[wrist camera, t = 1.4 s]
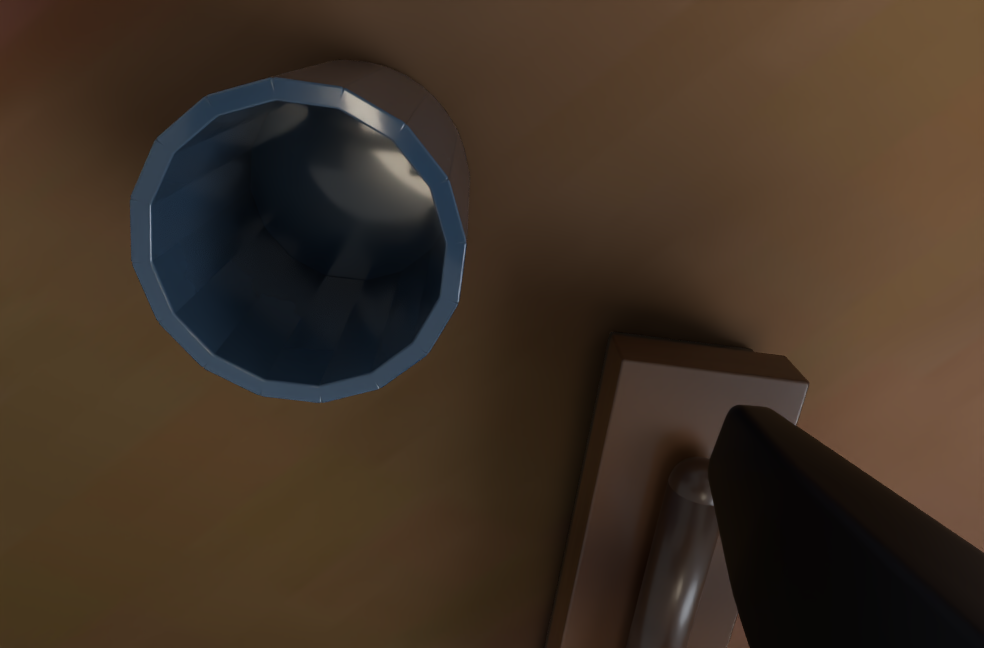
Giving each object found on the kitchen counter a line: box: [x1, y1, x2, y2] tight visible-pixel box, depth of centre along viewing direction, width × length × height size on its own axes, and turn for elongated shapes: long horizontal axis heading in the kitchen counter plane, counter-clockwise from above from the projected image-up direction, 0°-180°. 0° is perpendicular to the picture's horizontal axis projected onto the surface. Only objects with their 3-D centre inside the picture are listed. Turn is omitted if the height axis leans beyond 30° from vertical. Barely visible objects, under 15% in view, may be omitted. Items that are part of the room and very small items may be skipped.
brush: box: [544, 332, 809, 648], centre depth 24 cm, size 14×5×5 cm, turn 172°
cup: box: [130, 59, 470, 403], centre depth 18 cm, size 6×6×8 cm
